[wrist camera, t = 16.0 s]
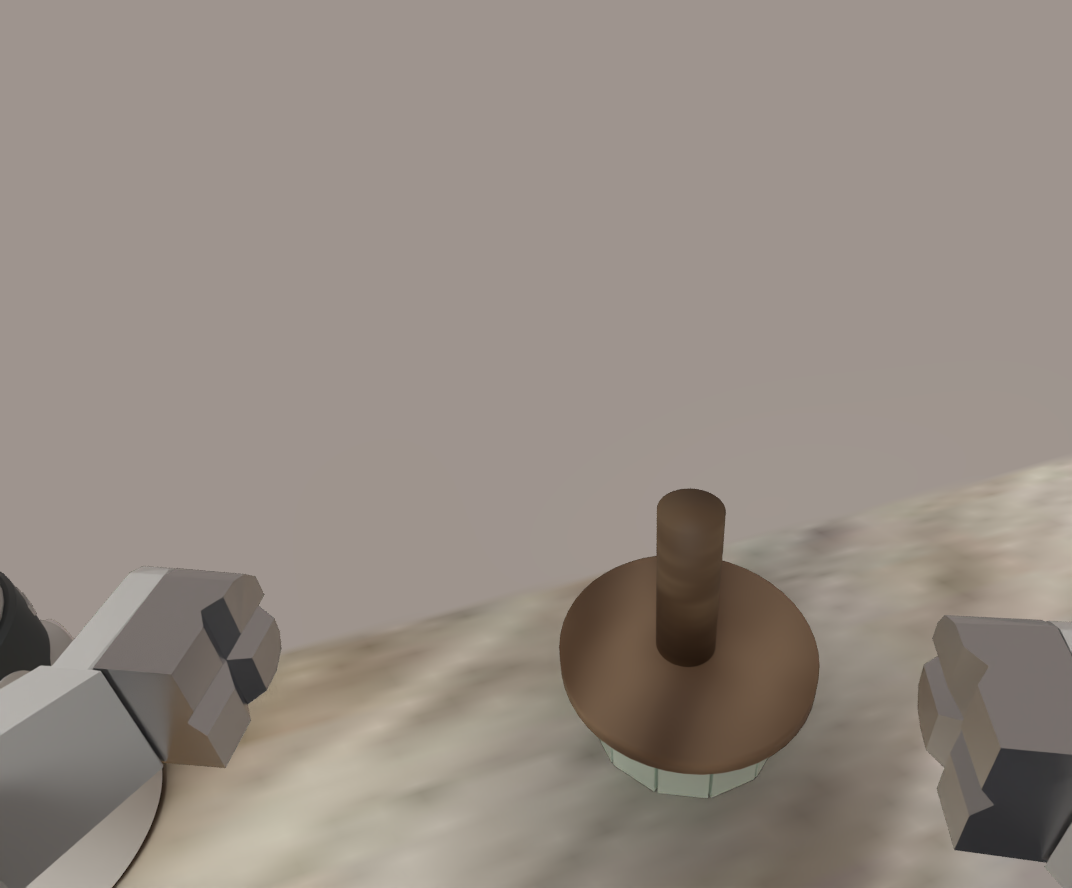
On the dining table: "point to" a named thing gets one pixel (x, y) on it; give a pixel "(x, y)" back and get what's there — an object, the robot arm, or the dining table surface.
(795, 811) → the dining table surface
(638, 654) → the walnut lid
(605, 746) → the celadon bowl
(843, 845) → the dining table surface
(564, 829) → the dining table surface
